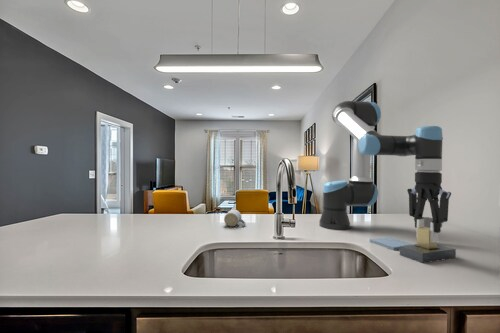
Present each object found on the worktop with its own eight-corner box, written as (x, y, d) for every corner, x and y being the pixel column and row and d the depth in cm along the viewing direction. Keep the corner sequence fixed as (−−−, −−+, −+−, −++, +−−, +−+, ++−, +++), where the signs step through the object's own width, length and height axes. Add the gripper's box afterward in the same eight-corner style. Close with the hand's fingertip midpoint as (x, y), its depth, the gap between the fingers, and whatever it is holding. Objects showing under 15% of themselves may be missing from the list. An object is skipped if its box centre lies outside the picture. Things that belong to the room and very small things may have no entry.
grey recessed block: (399, 254, 87) (399, 246, 87) (431, 250, 92) (431, 242, 92) (422, 263, 79) (422, 253, 79) (455, 257, 85) (455, 248, 85)
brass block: (417, 250, 87) (417, 227, 87) (425, 249, 88) (425, 226, 88) (428, 254, 83) (429, 230, 83) (436, 253, 85) (437, 229, 85)
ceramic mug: (223, 226, 124) (223, 211, 124) (226, 223, 132) (227, 208, 132) (244, 228, 122) (244, 212, 122) (246, 224, 130) (247, 209, 130)
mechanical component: (444, 244, 100) (444, 219, 101) (416, 242, 103) (416, 217, 103) (440, 242, 103) (440, 217, 104) (413, 240, 105) (413, 216, 106)
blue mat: (369, 241, 102) (369, 239, 102) (389, 239, 106) (389, 237, 106) (393, 250, 92) (393, 247, 92) (414, 247, 95) (414, 244, 95)
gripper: (397, 171, 93) (396, 234, 93) (447, 172, 77) (446, 248, 77) (412, 171, 95) (411, 232, 95) (463, 172, 79) (462, 246, 79)
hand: (426, 239), depth 86 cm, fingers closed on brass block, 4 cm apart
